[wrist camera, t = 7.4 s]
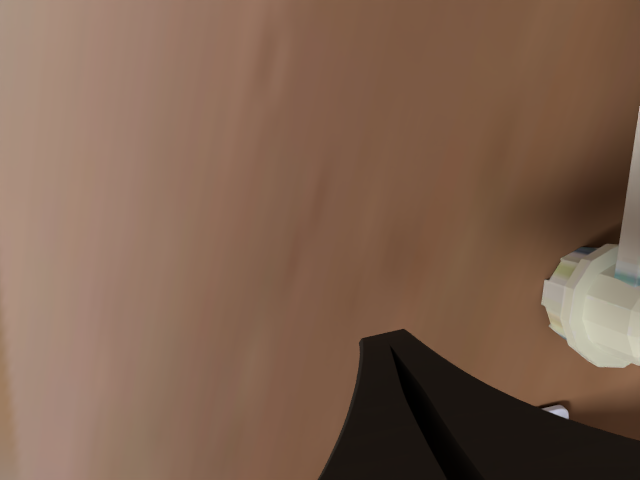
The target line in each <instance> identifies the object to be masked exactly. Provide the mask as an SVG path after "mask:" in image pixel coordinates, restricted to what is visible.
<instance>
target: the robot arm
mask: <svg viewBox="0 0 640 480" xmlns="http://www.w3.org/2000/svg"><path fill="white" fill-rule="evenodd" d="M359 346H360V360H359V368H358V374H357V380H356V385H355V389H354V393H353V396H352V400H351V404H350V407H349V411H348V414H347V417H346V419H345V422H344V425H343V428H342V430H341V433H340V435H339V438H338V440H337V442H336V444H335V446H334V449H333V451H332V453H331V455H330V457H329V459H328V461H327V463H326V465H325V467H324V469H323V471H322V473H321V475H320V477H319V478H318V480H640V441H638V440H634V439H630V438H627V437H623V436H620V435H616V434H613V433H610V432H607V431H603V430H600V429H597V428H594V427H590V426H587V425H584V424H581V423H578V422H575V421H572V420H569V413H568V411H567V410H566V409H565V408H564V407H563V406H562V405H555V406H551V407H547V408H543V409H540V408H538V407H535V406H533V405H530V404H528V403H526V402H523V401H521V400H519V399H516V398H514V397H512V396H510V395H508V394H506V393H504V392H502V391H500V390H497V389H495V388H493V387H491V386H489V385H487V384H485V383H484V382H482V381H480V380H478V379H476V378H475V377H473V376H471V375H469V374H468V373H466V372H464V371H463V370H461V369H460V368H458V367H456V366H455V365H453V364H452V363H450V362H449V361H447V360H446V359H444V358H443V357H441V356H440V355H438V354H437V353H436V352H434V351H433V350H431V349H430V348H429V347H427V346H426V345H425V344H423V343H422V342H421V341H419V340H418V339H417V338H416V337H414V336H413V335H412V334H410V333H409V332H408V331H406V330H405V329H401V330H396V331H392V332H388V333H383V334H379V335H375V336H370V337H366V338H362V339H361V340H360V342H359Z"/></svg>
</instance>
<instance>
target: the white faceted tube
mask: <svg viewBox="0 0 640 480" xmlns="http://www.w3.org/2000/svg"><path fill="white" fill-rule="evenodd" d="M560 259H561V262H560V264H559V265H558V267H557V268H556V270H555V272H554V273H553V275H552V276H551V278H550V280H545V281H544V289H543V296H542V303H541V305H544V306H545V307H546V310H547V313H548V316H549V319H550V323H551V324H550V325H549V327H550V328H551V329H553V330H554V331H555V332H556V333H557V334H559V335H560V336H561V337H562V338H564V339H565V340H567V342H568V345H569V346H570V347H571V348H573V349H574V350H575V351H576V352H578V353H579V354H580V355H581V356H582V357H584V358H585V359H586V360H587V361H589V362H591V363H592V364H594V365H596V366H597V367H620V368H624V367H626V366H627V365H629V364H631V363H633V364H636V365H639V366H640V108H639V114H638V121H637V128H636V135H635V141H634V148H633V155H632V161H631V168H630V175H629V181H628V188H627V195H626V201H625V208H624V215H623V221H622V228H621V235H620V242H619V244H605V245H604V246H602V247H600V248H590V247H580V248H579V249H577V250H575V251H573V252H571V253H570V254H568V255H566V256H564V257H562V258H560Z"/></svg>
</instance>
